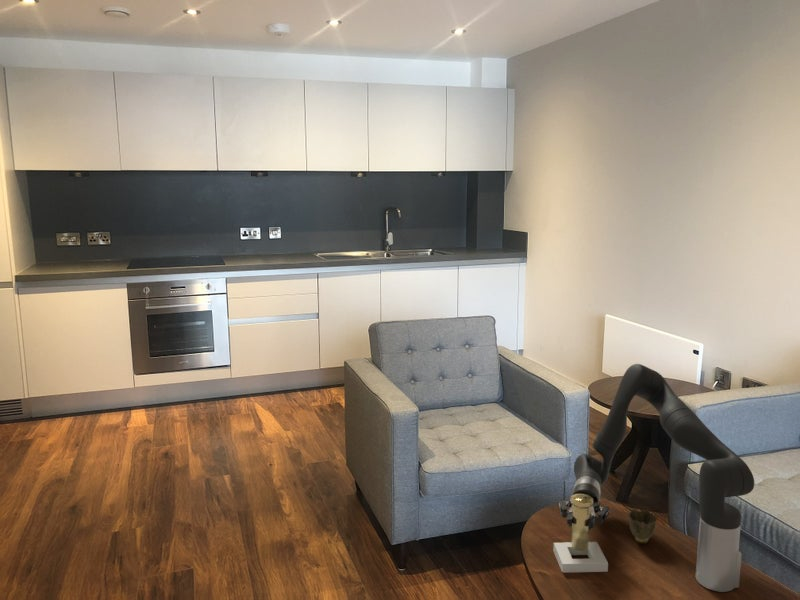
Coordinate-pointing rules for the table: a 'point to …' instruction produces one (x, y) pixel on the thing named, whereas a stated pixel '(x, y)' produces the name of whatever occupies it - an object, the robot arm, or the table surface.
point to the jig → (568, 564)
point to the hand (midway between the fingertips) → (580, 524)
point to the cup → (642, 524)
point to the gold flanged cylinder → (581, 521)
